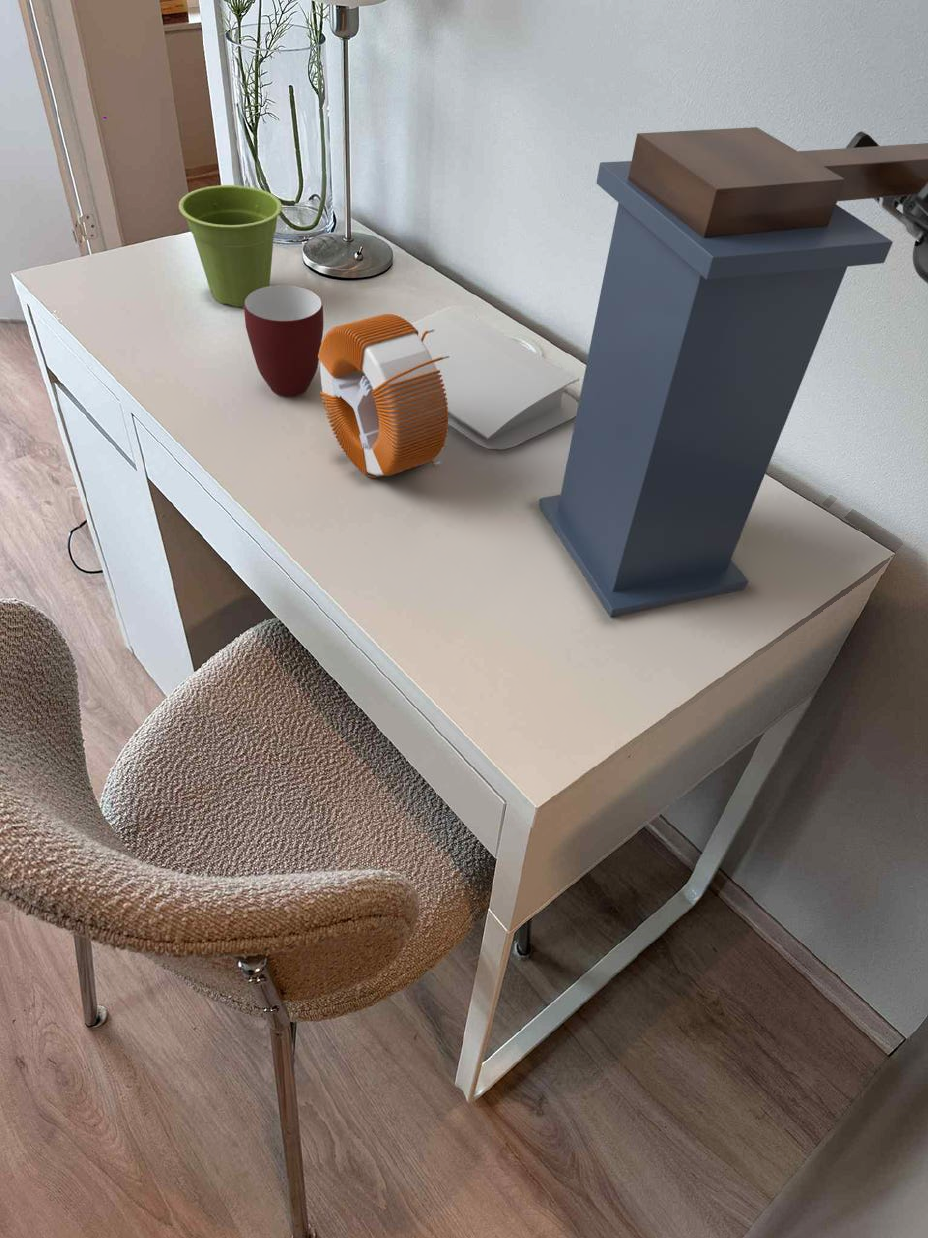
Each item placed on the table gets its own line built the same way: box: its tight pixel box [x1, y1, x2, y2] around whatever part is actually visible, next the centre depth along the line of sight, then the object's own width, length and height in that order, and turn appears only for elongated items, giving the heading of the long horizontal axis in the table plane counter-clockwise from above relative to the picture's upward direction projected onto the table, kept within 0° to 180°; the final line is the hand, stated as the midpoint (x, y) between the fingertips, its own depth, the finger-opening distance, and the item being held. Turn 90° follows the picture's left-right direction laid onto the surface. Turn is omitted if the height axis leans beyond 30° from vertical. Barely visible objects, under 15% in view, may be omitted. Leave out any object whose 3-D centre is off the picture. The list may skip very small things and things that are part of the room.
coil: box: [318, 313, 449, 478], centre depth 86 cm, size 7×15×15 cm, turn 36°
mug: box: [243, 284, 324, 398], centre depth 96 cm, size 11×8×10 cm
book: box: [410, 304, 580, 451], centre depth 101 cm, size 15×23×4 cm, turn 43°
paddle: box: [628, 126, 928, 238], centre depth 62 cm, size 24×10×3 cm, turn 112°
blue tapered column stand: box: [538, 160, 894, 618], centre depth 73 cm, size 14×16×32 cm
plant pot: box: [178, 184, 283, 308], centre depth 109 cm, size 12×12×11 cm
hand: (888, 164), depth 64 cm, fingers open, 8 cm apart
